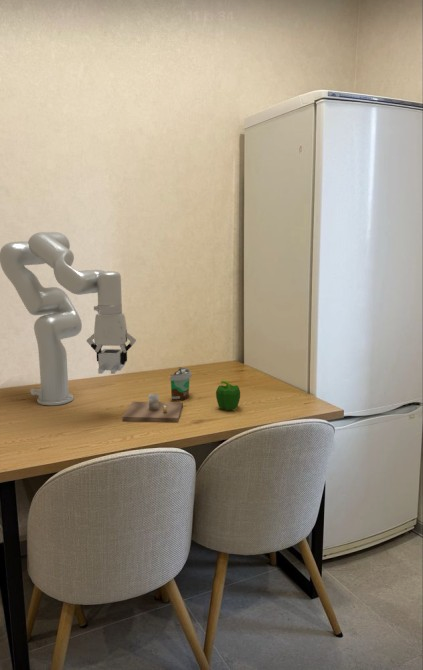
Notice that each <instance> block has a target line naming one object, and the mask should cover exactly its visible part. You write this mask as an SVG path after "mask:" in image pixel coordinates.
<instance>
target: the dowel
mask: <svg viewBox="0 0 423 670" xmlns="http://www.w3.org/2000/svg"><path fill="white" fill-rule="evenodd" d="M163 413H164V414H166V413H167V405H163Z"/></svg>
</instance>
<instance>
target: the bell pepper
mask: <svg viewBox="0 0 423 670" xmlns="http://www.w3.org/2000/svg"><path fill="white" fill-rule="evenodd" d="M220 383H221V384H225V385H218V387H217V389H216V391H215V396H216V401H217V405H218V407H219V409H221V410H225V411H234V410H237V408H238V406H239V404H240V403H239V402H240V399H241V391H240V387H239V385H233V384H230V382H229V381H227V380H224V379H223V380H220Z"/></svg>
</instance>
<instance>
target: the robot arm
mask: <svg viewBox="0 0 423 670" xmlns="http://www.w3.org/2000/svg"><path fill="white" fill-rule="evenodd" d="M70 246H71V244H70V241H69V238H68V237H67V236H66V235H65V234H64V233H62V232H54V231H53V232H52V231H49V232H47V231H46V232H45V231H43V232H41V231H39V232H36V233H34V234H33V235H31V236H30V237H29V239H28V241H12V242H8V243H5V244H4V245H3V246H2V247H1V248H0V268H1V269H2V271H3V273H4V274H5V276H6V278H7V279H8V281H10V283H11V284H12V285H13V287H14V289H15V291H16V292H17V295H18V296H19V298H20V300H21V302H22V303H23V305H24V307H25V309H26V310H27V312H28V313H29V314H30V315H31V316H39V317H38V318H37V319H36V320H35V321H34V325H33V330H34V335H35V339H36V342H37V343H36V344H37V351H38V352H37V353H38V361H39V379H40V388H30V391H29V393H30V395H31V396H37V400H36V402H37V403H38V404H39V405H41V406H59V405H64V404H68V403H70V402H72V401H74V395H73V394H72V393H70V392H69V378H68V377H69V374H68V372H69V371H68V358H67V357H68V356H67V350H66V347H65V346H64V344H63V343H62V340H64V339H69V338H72V337H76V336H78V335H79V334H80V333H81V331H82V320H81V317H80V315H79V314H78V311H77V310H76V308H75V305H73V303H72V301H71V299H70V298H69V296H68V294H67V293H66V292H65V291H64V290H63V289H61V288H59V287H56V286H54V287H51V286H50V287H44V286H43V285H42V284H41V282H40V281H39V279H38V277H37V276H36V274H35V273H34V272H32V271H31V270H30V269H28V267H26V266H32V265H34V266H35V265H37V266H38V265H43V264H44V265H45V264H46V265H48V266H49V267H50V268H52V269H53V275H54V277H55V280H56V281H57V283H58V284H59V285H60V286H61V287H63V288H64V289H65V290H67V291H68V292H70V293H72V294H73V295H78V296H79V295H87V294H95V293H96V294H97V305H95V306H93V311H96V312H97V314H95V318H94V329H93V331H94V333H93V334H91V336H89V338H87V339H86V342H87V344H88V345H89V346H90V347H91V348H92V349H93V350H94V352H95V353H96V362H97V363H98V365H99V357H98V354H99V353H100V352H101V351H102V349H103V348H102V347H104V346H110V347H111V346H112V347H113V346H118V347H120V349H122V353H121V362H122V365H124V364H125V365H126V363H127V361H128V351H129V349H130V348H132V346H133V345H134V344H135V343H136V342H137V339H136V338H134V337H133V336H132V335H131V334H129V333H128V328H127V321H126V317H125V314H124V313H123V306H122V305H123V304H122V301H123V300H122V276H121V274H120V272H118V271H114V270H113V271H112V270H111V271H109V270H108V271H107V270H106V271H105V270H102V269H87V270H76V269H74V268H73V267H72V265H73V263H74V259H75V255H74V252H73V251H72V250H71V248H70ZM128 341H129V343H128V345H127V344H126V343H127V342H128Z"/></svg>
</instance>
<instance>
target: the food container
mask: <svg viewBox="0 0 423 670" xmlns="http://www.w3.org/2000/svg"><path fill="white" fill-rule="evenodd" d="M191 378H192V373H191V370H190V369H189V368H187V367H180V366H178V370H177V371H175V372H174V373H173V374H170V378H169V379H170V389H171V395H170V396H171V402H180V401H184V400H187V399H188V398H189V397H190V396H189V395H190V394H189V393H190V381H191V380H190V379H191Z"/></svg>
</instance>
